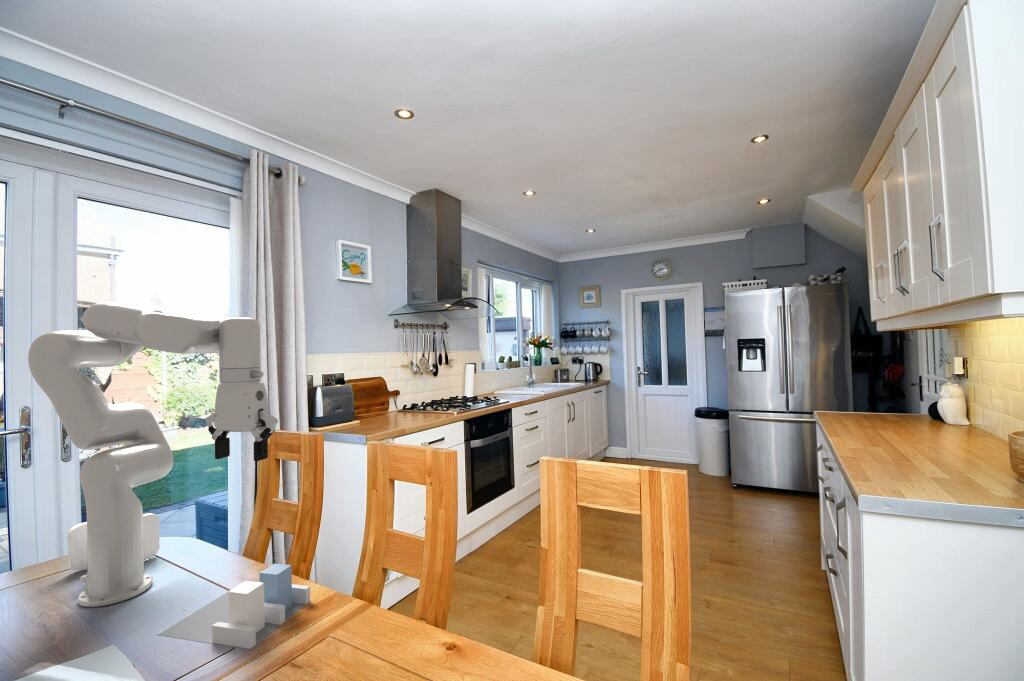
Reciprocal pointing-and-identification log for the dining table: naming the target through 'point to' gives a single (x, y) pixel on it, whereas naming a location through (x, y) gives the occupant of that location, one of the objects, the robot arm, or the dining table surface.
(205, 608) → the comb board
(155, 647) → the dining table surface
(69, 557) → the cable organizer
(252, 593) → the off-white plug
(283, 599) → the blue plug
